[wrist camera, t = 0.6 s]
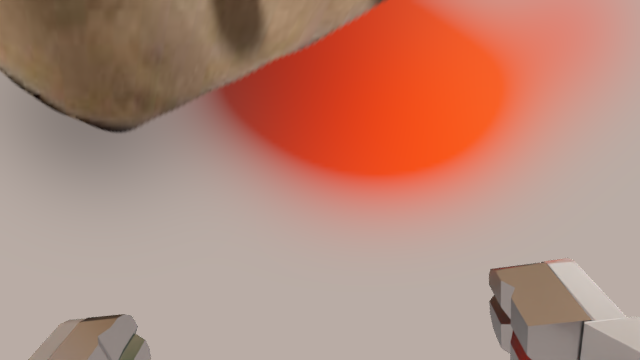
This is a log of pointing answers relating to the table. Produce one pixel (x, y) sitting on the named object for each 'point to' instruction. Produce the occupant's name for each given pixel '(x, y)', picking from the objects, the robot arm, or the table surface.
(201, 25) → the table surface
